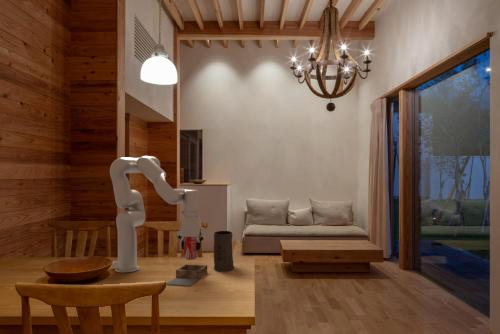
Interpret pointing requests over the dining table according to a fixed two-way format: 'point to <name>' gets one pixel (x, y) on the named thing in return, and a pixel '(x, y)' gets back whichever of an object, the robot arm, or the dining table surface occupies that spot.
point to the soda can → (190, 248)
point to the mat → (182, 282)
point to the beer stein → (223, 251)
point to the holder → (191, 271)
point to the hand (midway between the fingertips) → (190, 249)
